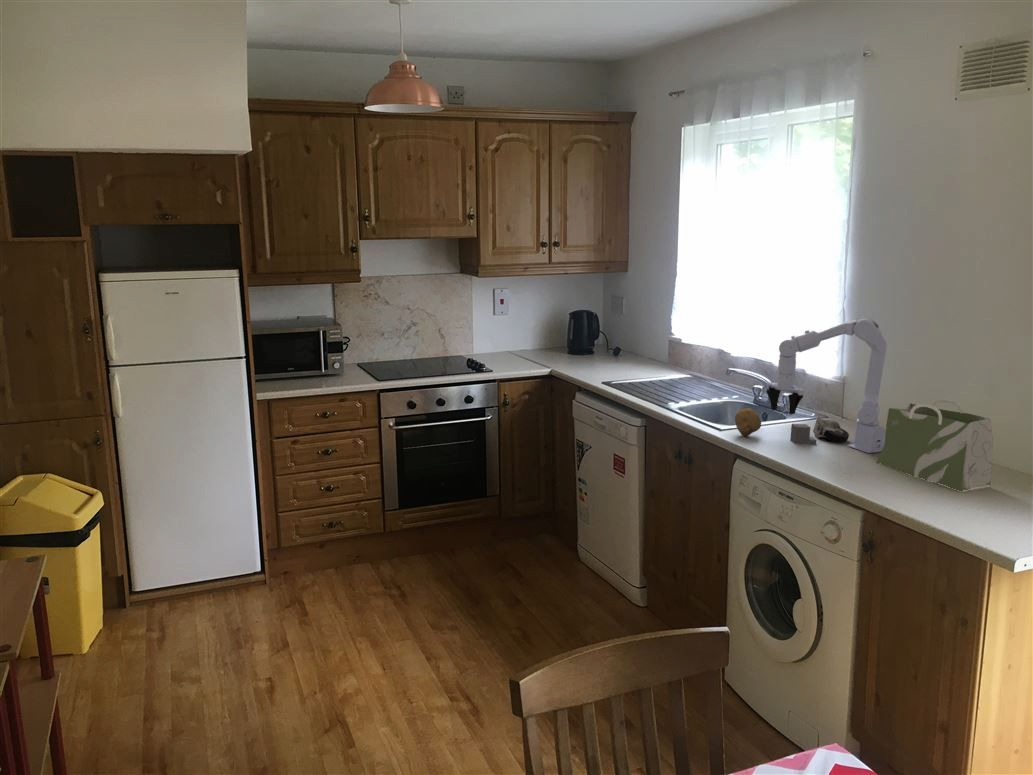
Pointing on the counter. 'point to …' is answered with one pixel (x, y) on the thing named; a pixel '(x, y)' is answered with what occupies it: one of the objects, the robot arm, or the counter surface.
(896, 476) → the counter surface
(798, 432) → the stepped grey block
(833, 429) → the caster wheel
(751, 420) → the natural sponge
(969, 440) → the grocery bag
